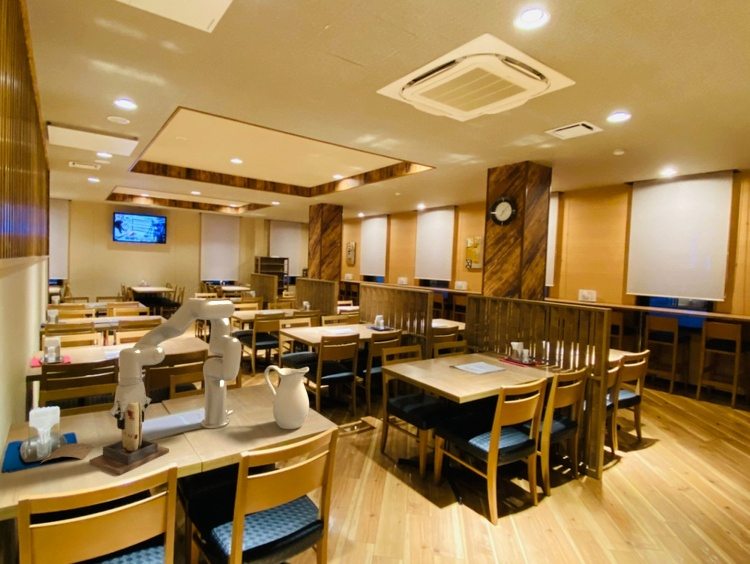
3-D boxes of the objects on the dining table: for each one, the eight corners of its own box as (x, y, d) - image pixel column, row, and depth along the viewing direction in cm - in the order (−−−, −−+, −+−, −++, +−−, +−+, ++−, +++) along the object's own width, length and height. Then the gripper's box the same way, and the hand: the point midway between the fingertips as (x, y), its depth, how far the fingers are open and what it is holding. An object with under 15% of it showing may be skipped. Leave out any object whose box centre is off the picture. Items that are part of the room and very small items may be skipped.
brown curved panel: (95, 448, 166) (95, 440, 166) (86, 461, 156) (86, 453, 156) (48, 453, 161) (48, 445, 161) (35, 467, 150) (35, 459, 150)
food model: (118, 447, 159) (118, 397, 158) (137, 442, 164) (137, 394, 163) (124, 456, 152) (124, 404, 151) (144, 451, 157) (144, 400, 156)
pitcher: (315, 422, 198) (316, 366, 197) (294, 435, 183) (295, 374, 182) (276, 413, 208) (277, 360, 207) (253, 424, 193) (254, 367, 192)
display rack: (139, 442, 171) (139, 431, 171) (169, 452, 163) (169, 440, 163) (89, 463, 153) (89, 450, 152) (120, 475, 145) (120, 461, 145)
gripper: (145, 373, 166) (145, 415, 167) (101, 384, 150) (102, 431, 151) (157, 376, 163) (157, 419, 164) (114, 388, 147) (115, 435, 148)
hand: (131, 424), depth 158 cm, fingers closed on food model, 7 cm apart
